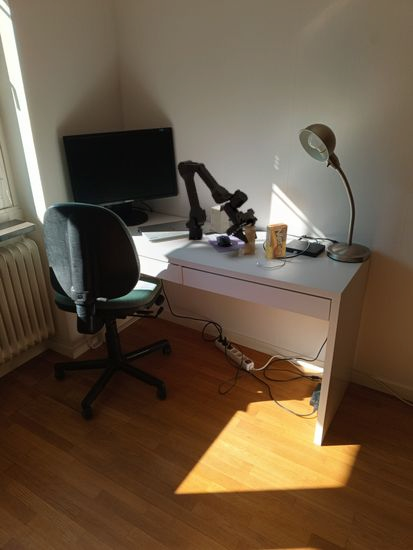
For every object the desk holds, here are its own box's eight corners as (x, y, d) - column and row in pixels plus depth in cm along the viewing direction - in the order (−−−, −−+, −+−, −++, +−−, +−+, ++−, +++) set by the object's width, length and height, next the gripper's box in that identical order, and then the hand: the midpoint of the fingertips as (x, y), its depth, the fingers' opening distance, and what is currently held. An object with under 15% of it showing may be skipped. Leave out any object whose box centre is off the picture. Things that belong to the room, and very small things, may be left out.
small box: (229, 231, 226) (229, 208, 220) (220, 234, 222) (220, 210, 217) (219, 227, 232) (219, 205, 226) (210, 230, 228) (210, 207, 222)
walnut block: (243, 254, 195) (244, 229, 190) (244, 250, 200) (244, 225, 195) (254, 254, 195) (255, 229, 190) (254, 250, 199) (255, 226, 194)
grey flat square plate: (238, 257, 194) (238, 256, 193) (238, 249, 203) (238, 248, 202) (260, 257, 193) (260, 257, 192) (259, 249, 202) (259, 249, 201)
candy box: (280, 253, 197) (282, 222, 191) (285, 256, 194) (288, 225, 187) (264, 256, 194) (266, 225, 187) (269, 259, 190) (271, 227, 184)
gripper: (231, 208, 183) (251, 237, 182) (255, 199, 196) (274, 226, 195) (217, 222, 191) (236, 250, 190) (241, 212, 204) (259, 238, 203)
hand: (252, 240), depth 194 cm, fingers closed on walnut block, 7 cm apart
